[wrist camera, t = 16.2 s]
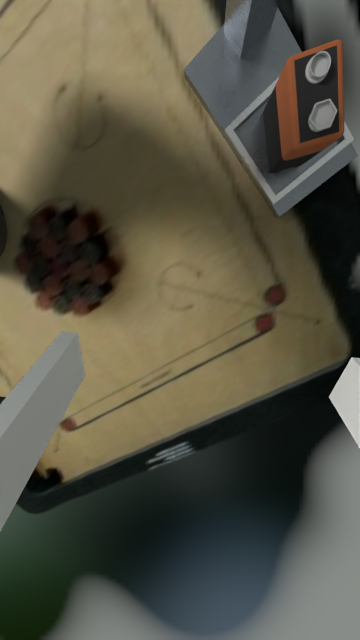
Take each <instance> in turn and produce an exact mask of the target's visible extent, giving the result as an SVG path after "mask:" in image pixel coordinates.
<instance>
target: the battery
mask: <svg viewBox="0 0 360 640" xmlns="http://www.w3.org/2000/svg"><path fill="white" fill-rule="evenodd" d="M343 81H344V80H343V44H342V41H341V40H339V39H338V40H335V41H332V42H329V43H326V44H323V45H321V46H318V47H315V48H312V49H309V50H306V51H304V52H301V53H298V54H295V55H293V56H290V57H289V58H288V60H287V62H286V64H285V66H284V68H283V70H282V72H281V74H280V77H279V79H278V81H277V83H276V85H275V87H274V89H273V91H272V93H271V96H270V98H269V100H268V102H267V104H266V106H265V108H264V111H263V116H264V126H265V135H266V144H267V154H268V163H269V170H270V172H272V173H273V172H277V171H281V170H284V169H288V168H291V167H295V166H298V165H302V164H304V163H306V162H307V161H309V160H310V159H311V158H313V157H314V156H316V155H317V154H318V153H320V152H321V151H323V150H324V149H326V148H327V147H328V146H330V145H331V144H333V143H334V142H335V141H337V140H338V139H340V138H341V137H342V136H343V134H344V82H343Z"/></svg>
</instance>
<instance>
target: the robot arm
mask: <svg viewBox="0 0 360 640" xmlns="http://www.w3.org/2000/svg"><path fill="white" fill-rule="evenodd" d="M5 241H6V224H5V219H4V215H3V212H2V210H1V207H0V255H1V253H2V251H3V249H4V246H5ZM84 376H85V371H84V366H83V360H82V354H81V349H80V343H79V338H78V333H73V332H61V333H60V334H59V335H58V336H57V338H56V339H55V340H54V341H53V342H52V344H51V345H50V346H49V347H48V348H47V349H46V351H45V352H44V353H43V354H42V355H41V357H40V358H39V359H38V360H37V361H36V363H35V364H34V365H33V366H32V367H31V368H30V370H29V371H28V372H27V373H26V374H25V376H24V377H23V378H22V379H21V380H20V381H19V383H18V384H17V385H16V386H15V387H14V389H13V390H12V391H11V392H10V393H9V395H8V396H7V397H0V531H1V529H2V527H3V526H4V524H5V522H6V520H7V518H8V516H9V514H10V513H11V511H12V509H13V507H14V505H15V503H16V502H17V500H18V498H19V496H20V494H21V492H22V491H23V489H24V487H25V485H26V483H27V481H28V479H29V478H30V476H31V474H32V472H33V470H34V468H35V467H36V465H37V463H38V461H39V459H40V457H41V456H42V454H43V452H44V450H45V448H46V446H47V445H48V443H49V441H50V439H51V437H52V435H53V433H54V432H55V430H56V428H57V426H58V424H59V422H60V421H61V419H62V417H63V415H64V413H65V411H66V410H67V408H68V406H69V404H70V402H71V400H72V398H73V397H74V395H75V393H76V391H77V389H78V387H79V386H80V384H81V382H82V380H83V378H84ZM329 398H330V400H331V402H332V403H333V405H334V406H335V408H336V409H337V411H338V413H339V415H340V416H341V418H342V420H343V421H344V423H345V425H346V426H347V428H348V430H349V431H350V433H351V434H352V436H353V438H354V439H355V441H356V443H357V444H358V446H359V448H360V358H353V357H352V358H351V359H350V361H349V363H348V365H347V366H346V368H345V370H344V372H343V373H342V375H341V377H340V378H339V380H338V382H337V384H336V385H335V387H334V389H333V391H332V392H331V394H330V396H329Z"/></svg>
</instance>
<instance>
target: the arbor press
mask: <svg viewBox="0 0 360 640" xmlns="http://www.w3.org/2000/svg"><path fill="white" fill-rule="evenodd" d="M279 2H280V0H227V4H226V15H225V24H224V25H223V26H222V27H221V28H220V29H219V31H218V32H217V33H216V34H215V35H214V36H213V37H212V38H211V39H210V41H209V42H208V43H207V44H206V45H205V46H204V47H203V48H202V50H201V51H200V52H199V53H198V54H197V55H196V56H195V57H194V59H193V60H192V61H191V62H190V63H189V64H188V65H187V66H186V68H185V69H184V75H185V79H186V80H187V82H188V83H189V85H190V86H191V88H192V89H193V91H194V92H195V94H196V95H197V97H198V98H199V100H200V102H201V103H202V105H203V106H204V108H205V109H206V111H207V112H208V114H209V115H210V117H211V118H212V120H213V121H214V123H215V124H216V126H217V127H218V129H219V131H220V132H221V134H222V135H223V137H224V138H225V140H226V141H227V143H228V144H229V146H230V147H231V149H232V150H233V152H234V153H235V155H236V156H237V158H238V160H239V161H240V163H241V164H242V166H243V167H244V169H245V170H246V172H247V173H248V175H249V176H250V178H251V179H252V181H253V182H254V184H255V186H256V187H257V189H258V190H259V192H260V193H261V195H262V196H263V198H264V199H265V201H266V202H267V204H268V205H269V207H270V208H271V210H272V211H273V213H274V215H275V216H276V217H280V216H281V215H282V214H284V213H285V212H286V211H288V210H289V209H290V208H291V207H293V206H294V205H295V204H297V203H298V202H299V201H300V200H302V199H303V198H304V197H306V196H307V195H308V194H309V193H311V192H312V191H313V190H314V189H316V188H317V187H318V186H320V185H321V184H322V183H323V182H325V181H326V180H327V179H329V178H330V177H331V176H332V175H334V174H335V173H336V172H338V171H339V170H340V169H341V168H343V167H344V166H345V165H347V164H348V163H349V162H350V161H352V160H353V159H354V158H356V157H357V156H358V155H357V153H356V152H355V150H354V148H353V146H352V144H351V142H352V141H353V140H354V138H353V136H352V134H351V132H350V131H349V129H348V127H347V125H346V123H345V121H344V134H343V136H342V137H341V138H340V139H338V140H337V141H335V142H334V143H333V144H331V145H330V146H328V147H327V148H326V149H324V150H323V151H321V152H320V153H318V154H317V155H316V156H314V157H313V158H311V159H310V160H309V161H307V162H306V163H304V164H302V165H298V166H295V167H291V168H288V169H284V170H281V171H277V172H273V173H272V172H270V170H269V163H268V154H267V144H266V135H265V126H264V116H263V111H264V108H265V106H266V104H267V102H268V100H269V98H270V96H271V93H272V91H273V89H274V87H275V85H276V83H277V81H278V79H279V77H280V74H281V72H282V70H283V68H284V66H285V64H286V62H287V60H288V58H289V57H290V56H293V55H295V54H298V53H301V52H302V51H301V49H300V48H299V46H298V44H297V42H296V40H295V38H294V36H293V35H292V33H291V31H290V29H289V27H288V25H287V23H286V22H285V20H284V18H283V16H282V14H281V12H280V10H279V9H278V5H279Z"/></svg>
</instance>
